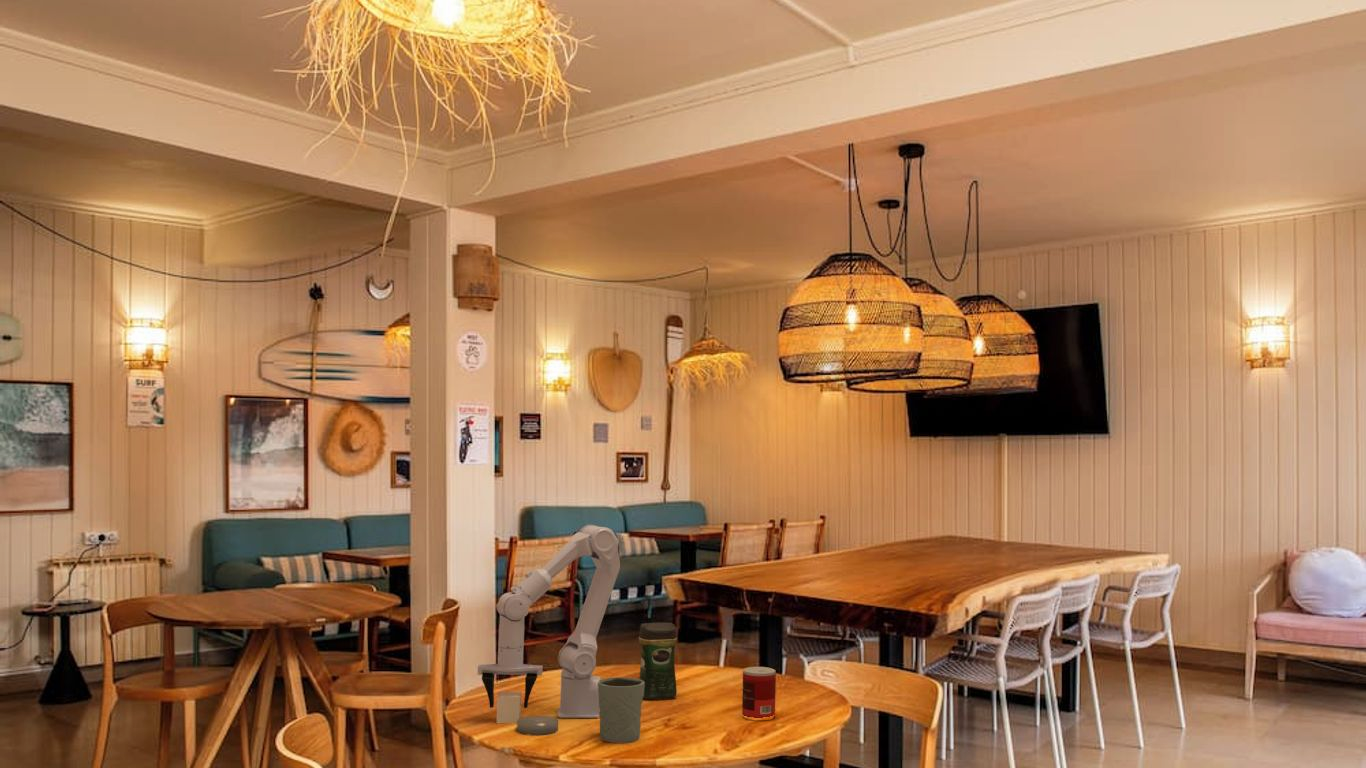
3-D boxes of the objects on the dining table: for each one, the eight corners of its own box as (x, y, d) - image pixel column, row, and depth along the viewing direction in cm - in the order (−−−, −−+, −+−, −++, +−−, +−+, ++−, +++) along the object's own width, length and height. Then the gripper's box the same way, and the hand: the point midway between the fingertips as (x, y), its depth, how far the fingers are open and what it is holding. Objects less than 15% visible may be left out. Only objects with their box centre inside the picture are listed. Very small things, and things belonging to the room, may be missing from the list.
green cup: (605, 745, 223) (606, 687, 224) (589, 733, 232) (591, 678, 233) (650, 741, 227) (651, 684, 228) (633, 729, 237) (634, 675, 237)
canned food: (779, 715, 252) (780, 668, 253) (767, 723, 245) (768, 674, 246) (749, 711, 255) (750, 665, 256) (737, 718, 248) (738, 671, 249)
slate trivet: (558, 724, 239) (559, 715, 239) (557, 735, 230) (557, 725, 230) (518, 724, 239) (518, 715, 239) (515, 735, 230) (515, 725, 230)
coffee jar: (670, 692, 274) (672, 619, 275) (679, 699, 266) (681, 624, 267) (634, 694, 271) (636, 620, 272) (641, 701, 263) (643, 625, 264)
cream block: (520, 718, 245) (521, 691, 245) (518, 723, 240) (519, 696, 240) (498, 718, 244) (499, 691, 245) (496, 723, 239) (497, 696, 240)
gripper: (543, 643, 248) (541, 702, 247) (480, 642, 246) (478, 702, 246) (542, 649, 240) (540, 710, 240) (477, 648, 239) (474, 709, 239)
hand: (508, 706), depth 242 cm, fingers open, 7 cm apart
